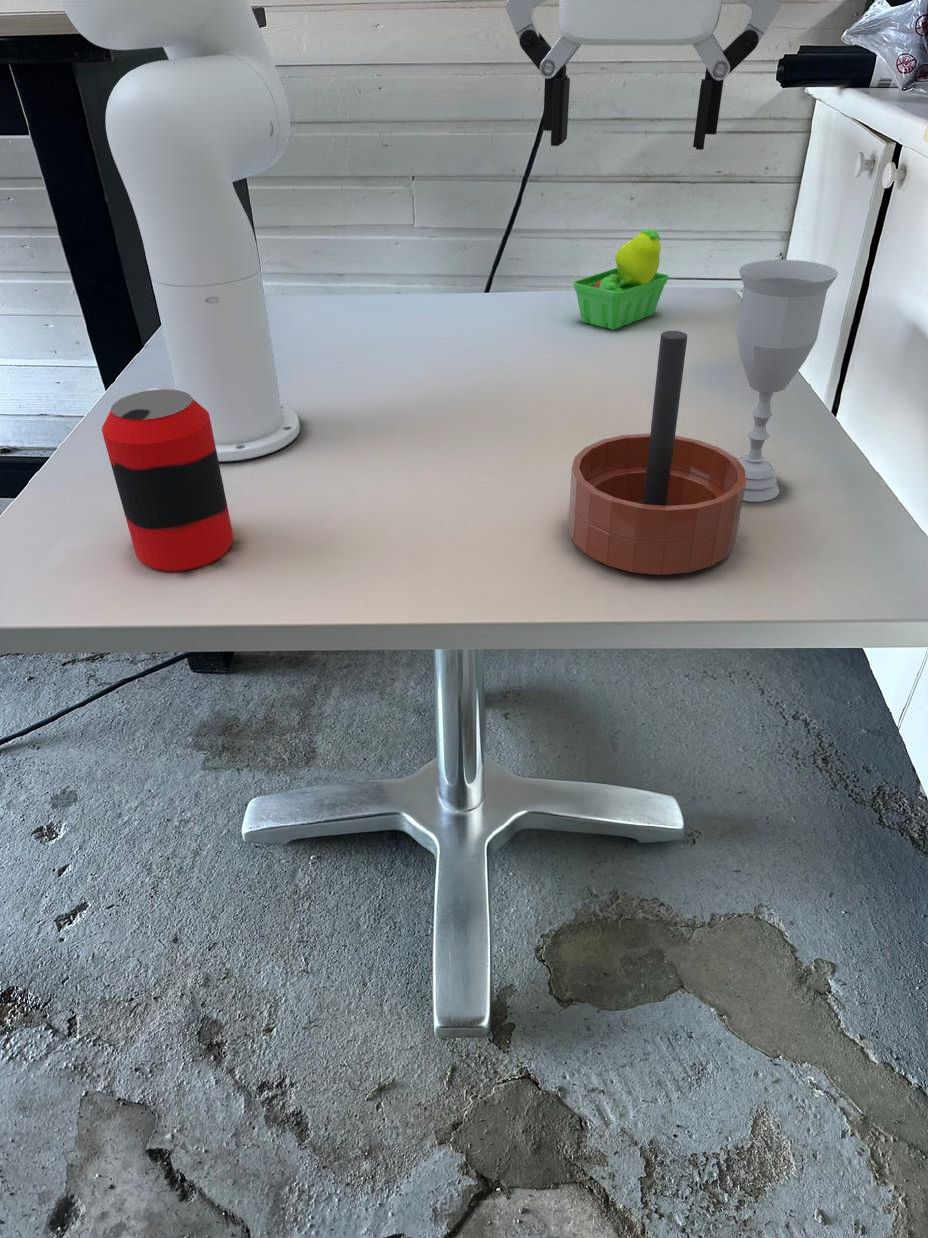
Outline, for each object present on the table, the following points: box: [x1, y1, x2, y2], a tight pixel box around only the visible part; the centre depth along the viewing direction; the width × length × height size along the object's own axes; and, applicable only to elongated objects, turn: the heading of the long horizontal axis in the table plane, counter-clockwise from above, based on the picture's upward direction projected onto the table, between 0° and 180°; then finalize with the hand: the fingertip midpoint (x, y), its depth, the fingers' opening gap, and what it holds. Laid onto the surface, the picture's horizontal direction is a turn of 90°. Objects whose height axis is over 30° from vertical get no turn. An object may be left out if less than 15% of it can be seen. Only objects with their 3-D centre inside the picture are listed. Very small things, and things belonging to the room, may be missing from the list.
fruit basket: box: [572, 228, 670, 331], centre depth 113 cm, size 11×9×11 cm
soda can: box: [101, 388, 234, 572], centre depth 67 cm, size 8×8×12 cm
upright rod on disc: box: [635, 330, 688, 506], centre depth 66 cm, size 5×5×16 cm
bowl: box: [567, 433, 746, 576], centre depth 69 cm, size 13×13×6 cm
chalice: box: [735, 259, 839, 503], centre depth 72 cm, size 7×7×18 cm
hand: (627, 144), depth 62 cm, fingers open, 9 cm apart
